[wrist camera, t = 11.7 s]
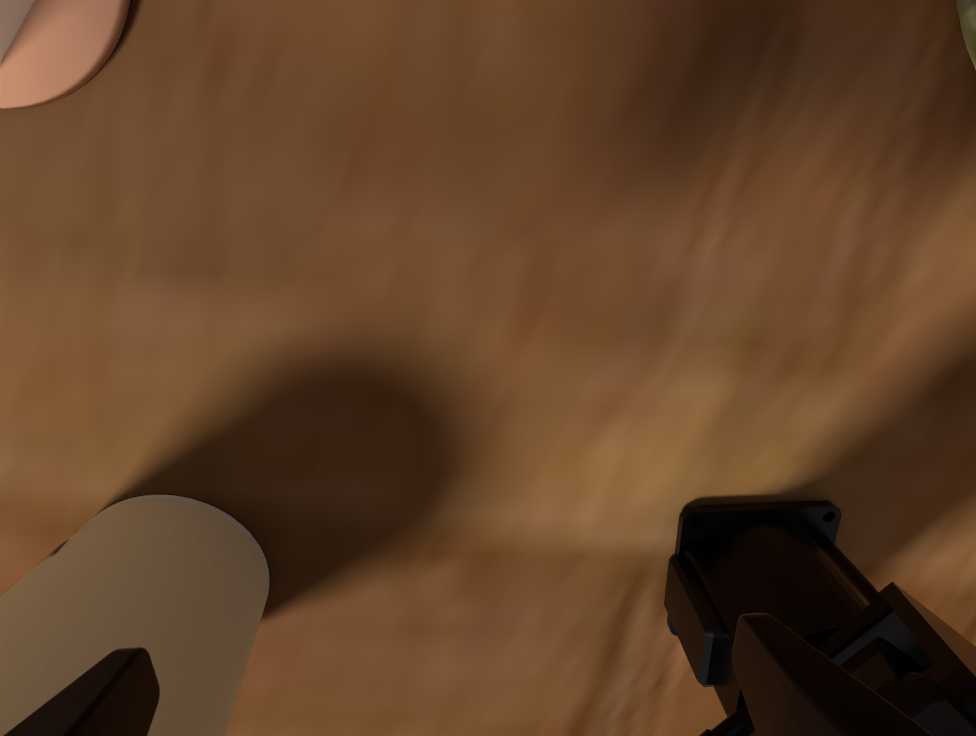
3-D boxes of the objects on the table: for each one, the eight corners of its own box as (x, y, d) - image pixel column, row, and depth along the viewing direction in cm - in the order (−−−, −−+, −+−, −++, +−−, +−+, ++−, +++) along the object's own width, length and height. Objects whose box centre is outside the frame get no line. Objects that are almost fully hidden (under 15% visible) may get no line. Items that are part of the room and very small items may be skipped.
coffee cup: (58, 450, 22) (-370, 780, 11) (309, 503, 23) (165, 846, 12) (52, 635, 25) (-281, 1039, 14) (273, 672, 26) (132, 1069, 15)
